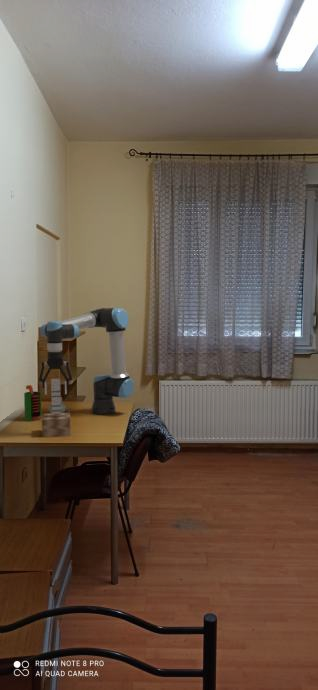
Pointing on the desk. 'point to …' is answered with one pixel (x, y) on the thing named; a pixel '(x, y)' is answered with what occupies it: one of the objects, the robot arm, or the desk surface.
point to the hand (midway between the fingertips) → (55, 394)
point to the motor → (32, 404)
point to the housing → (56, 425)
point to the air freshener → (63, 407)
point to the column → (55, 397)
